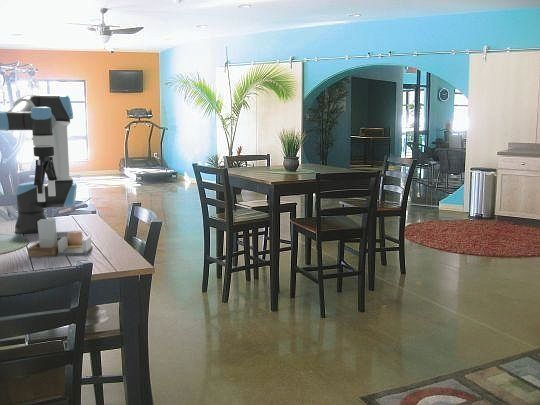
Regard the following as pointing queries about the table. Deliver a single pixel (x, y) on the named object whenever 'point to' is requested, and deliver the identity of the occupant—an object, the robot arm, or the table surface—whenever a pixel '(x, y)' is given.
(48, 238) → the skincare box
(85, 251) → the checker cradle
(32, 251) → the trough
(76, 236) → the wooden block
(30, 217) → the robot arm
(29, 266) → the table surface
